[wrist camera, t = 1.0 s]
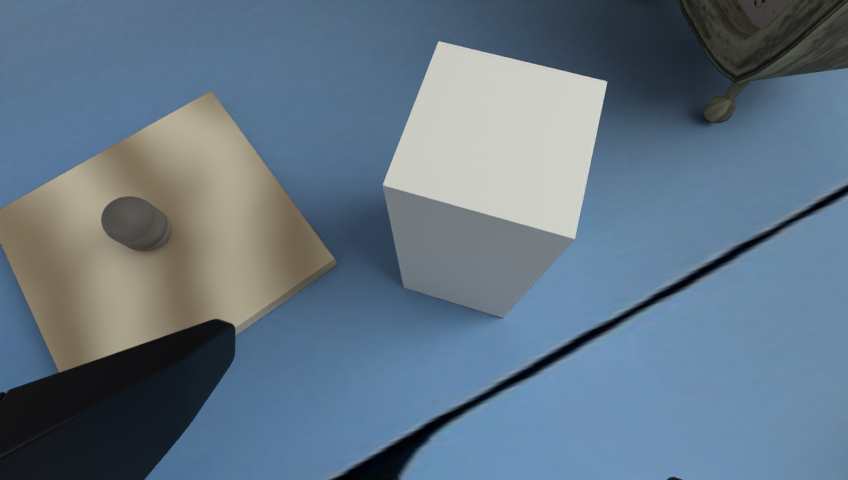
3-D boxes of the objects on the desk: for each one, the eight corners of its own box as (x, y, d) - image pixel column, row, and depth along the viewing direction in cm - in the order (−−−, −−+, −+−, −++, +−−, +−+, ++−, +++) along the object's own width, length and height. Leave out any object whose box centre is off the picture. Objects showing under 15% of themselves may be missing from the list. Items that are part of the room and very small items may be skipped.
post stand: (100, 430, 21) (20, 437, 17) (4, 222, 25) (-80, 186, 21) (338, 264, 24) (319, 235, 20) (218, 100, 28) (182, 48, 24)
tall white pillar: (503, 317, 23) (574, 239, 12) (403, 287, 24) (382, 184, 13) (526, 225, 25) (607, 81, 14) (433, 199, 26) (438, 41, 14)
